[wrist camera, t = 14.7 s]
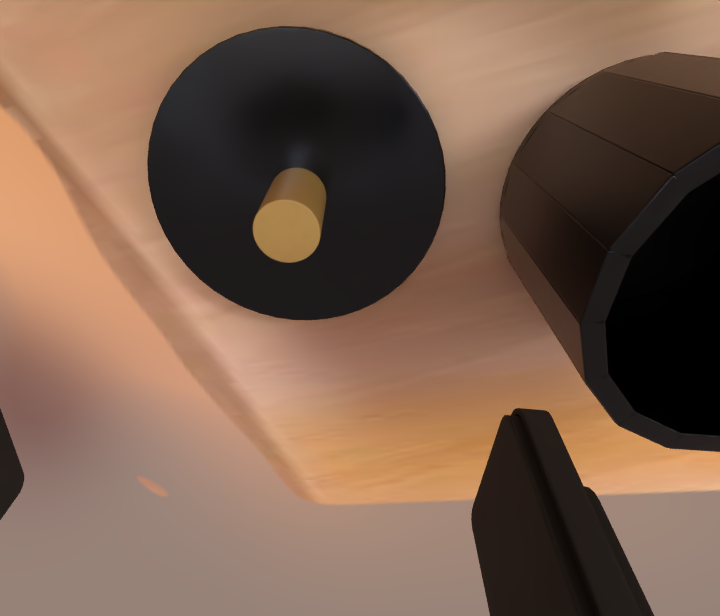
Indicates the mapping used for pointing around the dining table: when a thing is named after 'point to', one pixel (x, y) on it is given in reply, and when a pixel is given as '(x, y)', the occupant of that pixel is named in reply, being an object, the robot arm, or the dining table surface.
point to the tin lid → (296, 173)
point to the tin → (629, 240)
